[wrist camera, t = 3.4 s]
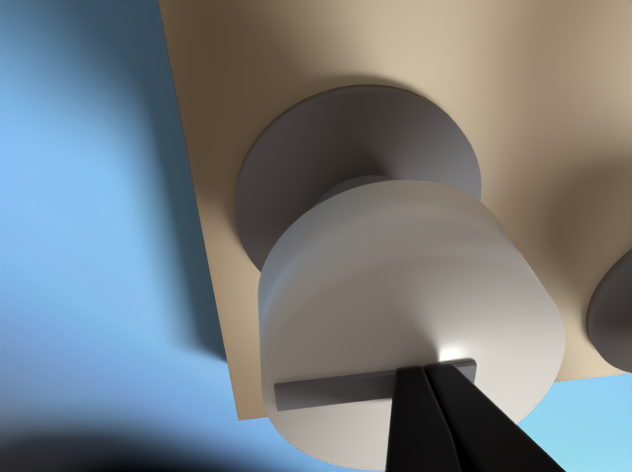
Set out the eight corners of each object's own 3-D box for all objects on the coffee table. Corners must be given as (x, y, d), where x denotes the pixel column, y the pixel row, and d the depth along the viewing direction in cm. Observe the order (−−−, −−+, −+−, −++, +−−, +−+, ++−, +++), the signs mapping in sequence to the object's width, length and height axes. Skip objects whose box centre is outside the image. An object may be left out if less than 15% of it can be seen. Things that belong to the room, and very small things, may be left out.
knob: (488, 117, 11) (601, 242, 7) (463, 302, 13) (539, 457, 10) (241, 139, 11) (243, 280, 7) (266, 324, 13) (275, 491, 10)
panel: (1033, -359, 10) (1222, -407, 8) (717, 313, 19) (771, 366, 17) (115, -325, 9) (81, -369, 7) (238, 368, 18) (238, 432, 16)
